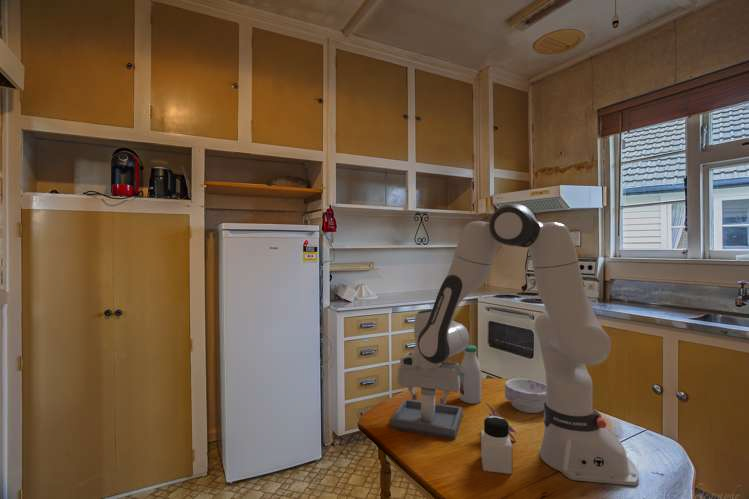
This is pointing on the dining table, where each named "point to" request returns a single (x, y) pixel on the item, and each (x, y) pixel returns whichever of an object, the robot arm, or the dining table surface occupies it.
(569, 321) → the robot arm
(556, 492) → the dining table surface
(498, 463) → the medicine bottle
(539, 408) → the paper bowls
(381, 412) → the dining table surface
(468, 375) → the milk bottle
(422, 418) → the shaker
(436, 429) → the tray
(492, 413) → the lily
